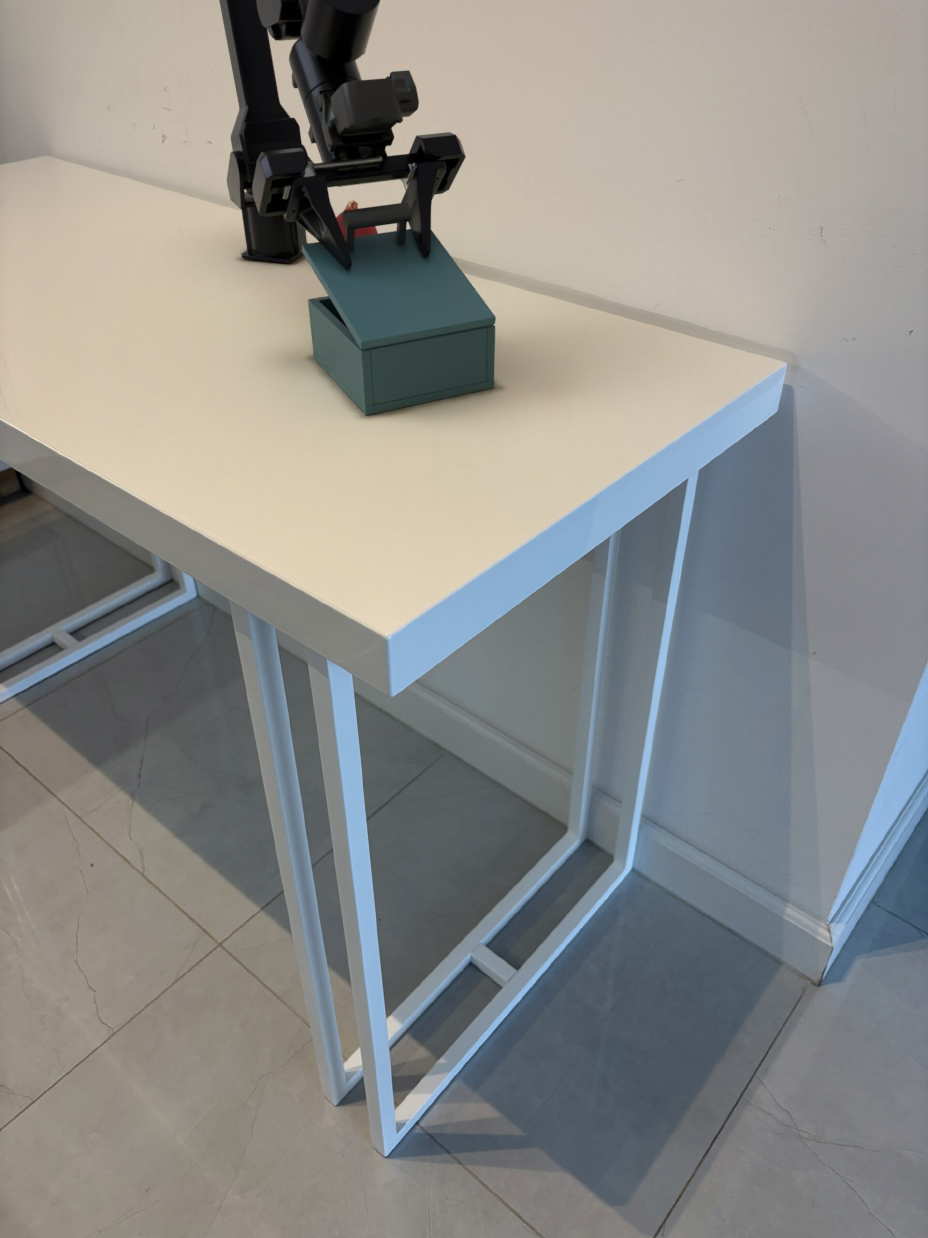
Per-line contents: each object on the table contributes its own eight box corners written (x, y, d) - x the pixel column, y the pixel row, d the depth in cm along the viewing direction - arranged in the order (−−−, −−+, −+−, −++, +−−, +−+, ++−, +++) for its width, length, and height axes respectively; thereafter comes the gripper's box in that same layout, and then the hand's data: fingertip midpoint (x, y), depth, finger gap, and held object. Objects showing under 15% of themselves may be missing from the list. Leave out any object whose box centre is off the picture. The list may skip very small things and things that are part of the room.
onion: (373, 283, 107) (369, 209, 102) (325, 280, 108) (318, 206, 103) (385, 266, 111) (382, 195, 106) (339, 263, 112) (333, 192, 107)
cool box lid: (301, 251, 84) (301, 203, 81) (428, 233, 89) (433, 186, 85) (360, 350, 77) (363, 302, 74) (495, 324, 82) (503, 278, 78)
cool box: (313, 358, 90) (307, 298, 87) (431, 335, 95) (430, 278, 91) (365, 415, 81) (361, 351, 77) (494, 387, 85) (495, 325, 82)
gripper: (242, 40, 73) (302, 224, 72) (456, 26, 80) (514, 196, 79) (230, 131, 83) (283, 294, 83) (420, 113, 90) (471, 263, 89)
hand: (388, 261), depth 83 cm, fingers open, 7 cm apart
